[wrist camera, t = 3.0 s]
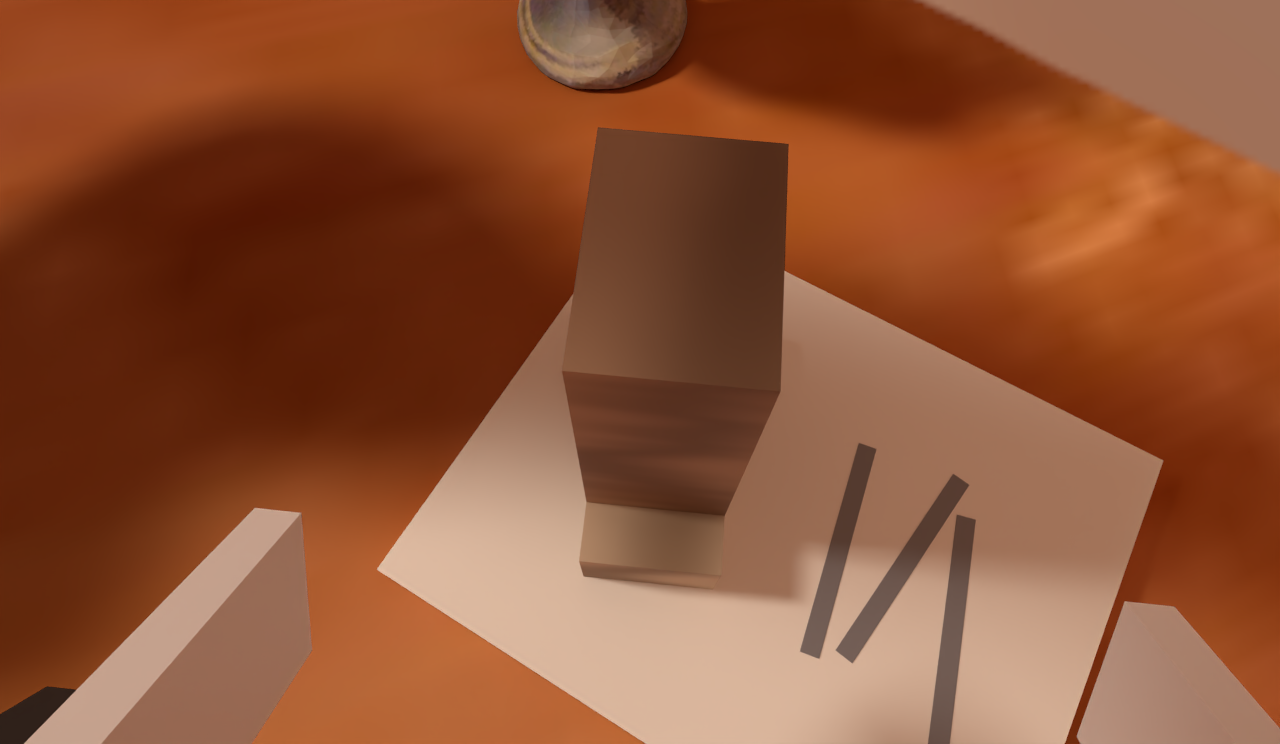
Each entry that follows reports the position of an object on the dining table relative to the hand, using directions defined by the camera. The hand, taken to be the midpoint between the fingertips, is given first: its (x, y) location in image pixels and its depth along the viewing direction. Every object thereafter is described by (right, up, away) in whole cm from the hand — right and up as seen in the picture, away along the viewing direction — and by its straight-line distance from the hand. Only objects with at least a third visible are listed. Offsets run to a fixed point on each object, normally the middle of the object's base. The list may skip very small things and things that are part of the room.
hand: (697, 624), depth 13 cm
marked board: (+4, -1, +14) cm, 15 cm away
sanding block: (0, +2, +14) cm, 14 cm away
